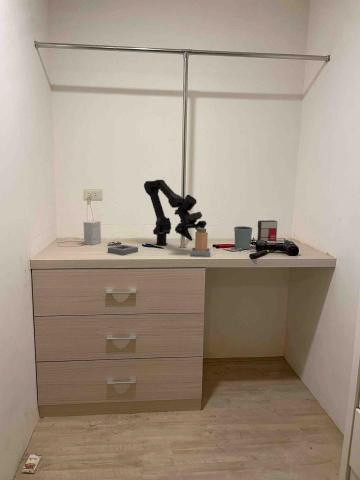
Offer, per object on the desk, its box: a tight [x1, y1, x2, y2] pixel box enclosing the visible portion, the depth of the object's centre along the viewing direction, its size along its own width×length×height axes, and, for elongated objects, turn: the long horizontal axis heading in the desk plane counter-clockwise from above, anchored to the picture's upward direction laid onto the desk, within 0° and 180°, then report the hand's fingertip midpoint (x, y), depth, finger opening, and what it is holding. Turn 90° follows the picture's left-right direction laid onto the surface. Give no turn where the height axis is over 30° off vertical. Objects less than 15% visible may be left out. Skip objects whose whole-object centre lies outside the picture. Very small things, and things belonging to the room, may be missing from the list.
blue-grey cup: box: [233, 225, 253, 250], centre depth 216 cm, size 10×10×12 cm
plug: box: [194, 227, 209, 252], centre depth 197 cm, size 5×4×13 cm
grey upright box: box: [256, 219, 278, 243], centre depth 224 cm, size 11×4×15 cm, turn 105°
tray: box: [190, 247, 212, 258], centre depth 198 cm, size 10×10×2 cm
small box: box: [83, 220, 102, 246], centre depth 220 cm, size 8×6×13 cm
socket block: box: [107, 244, 139, 256], centre depth 196 cm, size 11×11×4 cm
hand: (198, 239), depth 199 cm, fingers open, 9 cm apart
